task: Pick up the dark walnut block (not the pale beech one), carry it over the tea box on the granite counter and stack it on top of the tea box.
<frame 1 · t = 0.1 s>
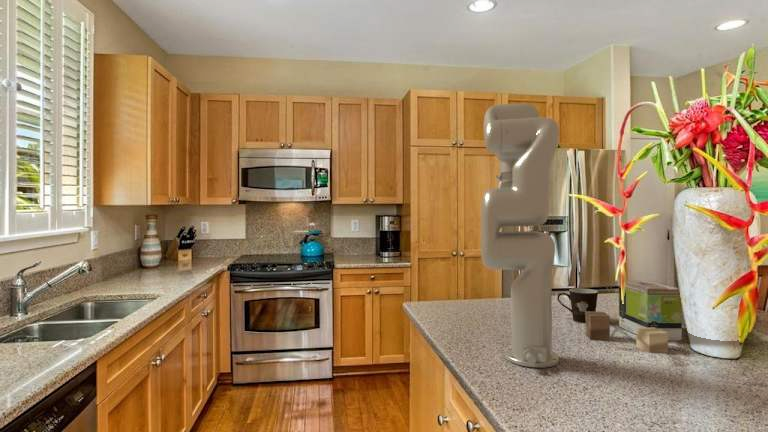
hand: (511, 226, 147), 31 cm above the countertop, tool pointing down, fingers open, 9 cm apart
coffee mug: (579, 320, 139), on the countertop
beech block: (651, 349, 110), on the countertop
walnut block: (597, 337, 120), on the countertop
tea box: (648, 334, 123), on the countertop
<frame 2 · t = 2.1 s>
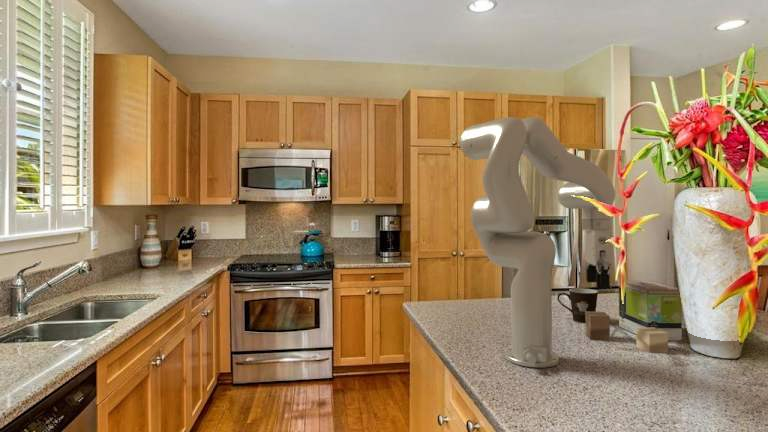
hand: (597, 285, 120), 15 cm above the countertop, tool pointing down, fingers open, 9 cm apart
nothing on the countertop moved.
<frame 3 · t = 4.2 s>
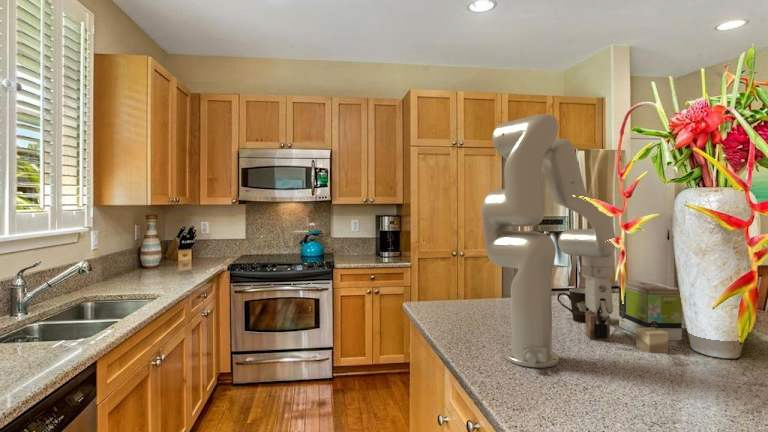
hand: (597, 334, 120), 1 cm above the countertop, tool pointing down, fingers closed on walnut block, 5 cm apart
walnut block: (597, 337, 120), on the countertop, touching gripper
everything else where it was.
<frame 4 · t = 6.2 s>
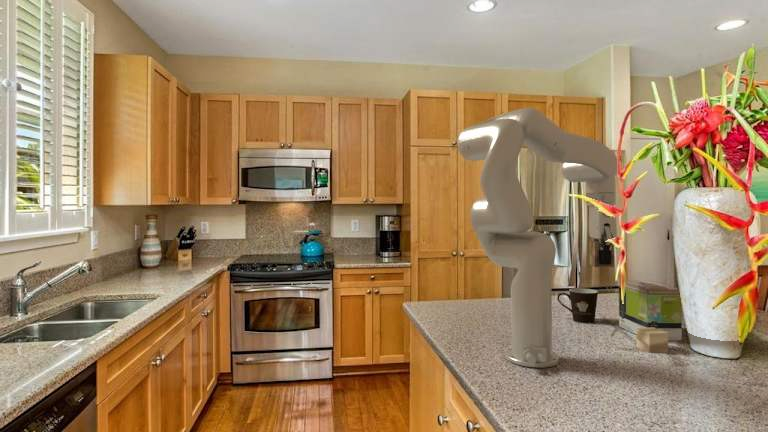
hand: (601, 262, 120), 22 cm above the countertop, tool pointing down, fingers closed on walnut block, 5 cm apart
walnut block: (601, 265, 120), point 21 cm above the countertop, touching gripper
everything else where it was.
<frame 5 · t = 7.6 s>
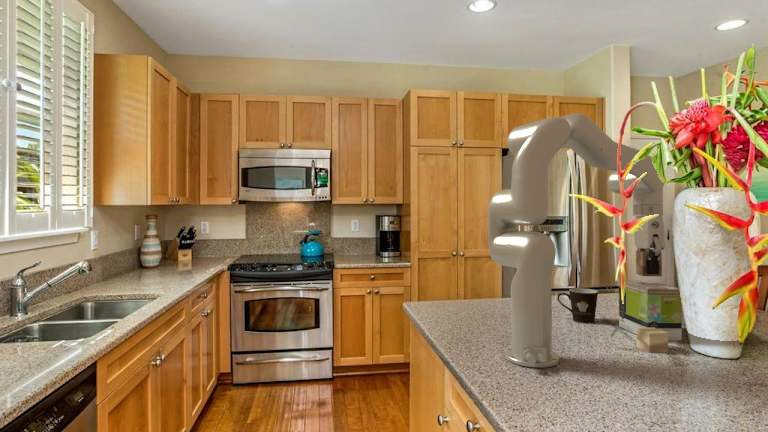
hand: (648, 271, 123), 18 cm above the countertop, tool pointing down, fingers closed on walnut block, 5 cm apart
walnut block: (648, 275, 123), point 17 cm above the countertop, touching gripper
everything else where it was.
when the fingers open (18 cm above the countertop, at t = 8.4 s): walnut block drops 2 cm, resting on tea box.
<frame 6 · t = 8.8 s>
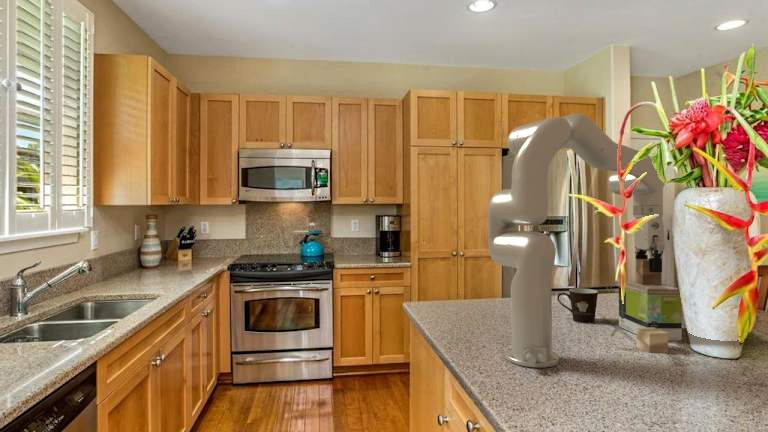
hand: (648, 269, 123), 19 cm above the countertop, tool pointing down, fingers open, 9 cm apart
walnut block: (648, 283, 123), point 15 cm above the countertop, touching tea box
tea box: (648, 334, 123), on the countertop, touching walnut block
everything else where it was.
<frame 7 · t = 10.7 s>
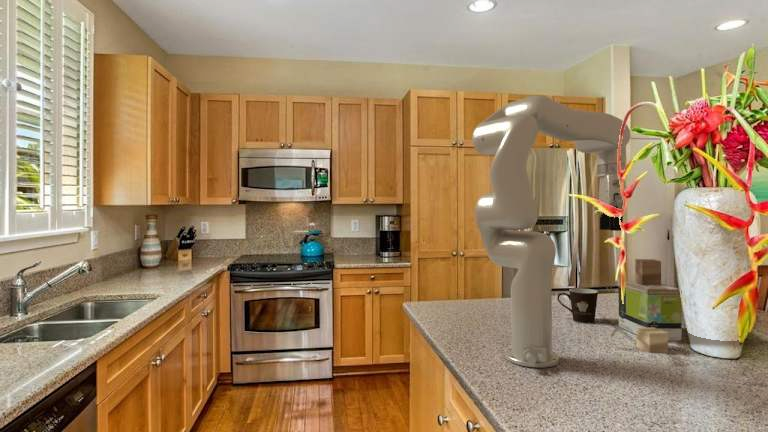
hand: (610, 230, 122), 31 cm above the countertop, tool pointing down, fingers open, 9 cm apart
nothing on the countertop moved.
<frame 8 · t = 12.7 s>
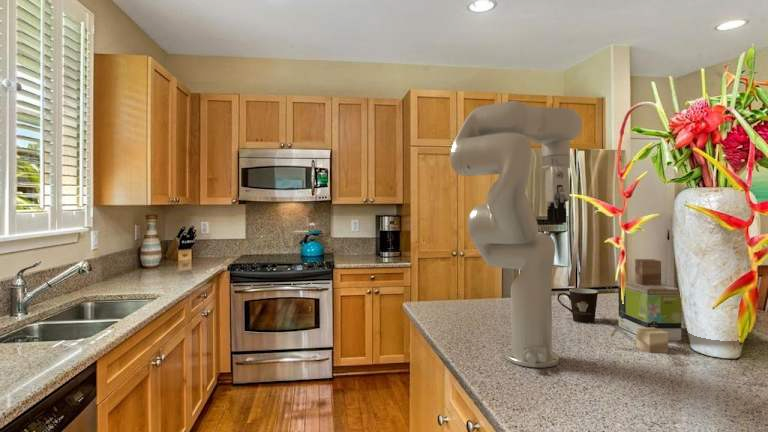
hand: (556, 222, 121), 33 cm above the countertop, tool pointing down, fingers open, 9 cm apart
nothing on the countertop moved.
at the end: walnut block 0.1 cm from the tea box (horizontally); walnut block point 14.7 cm above the countertop; walnut block tilted 0° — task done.
